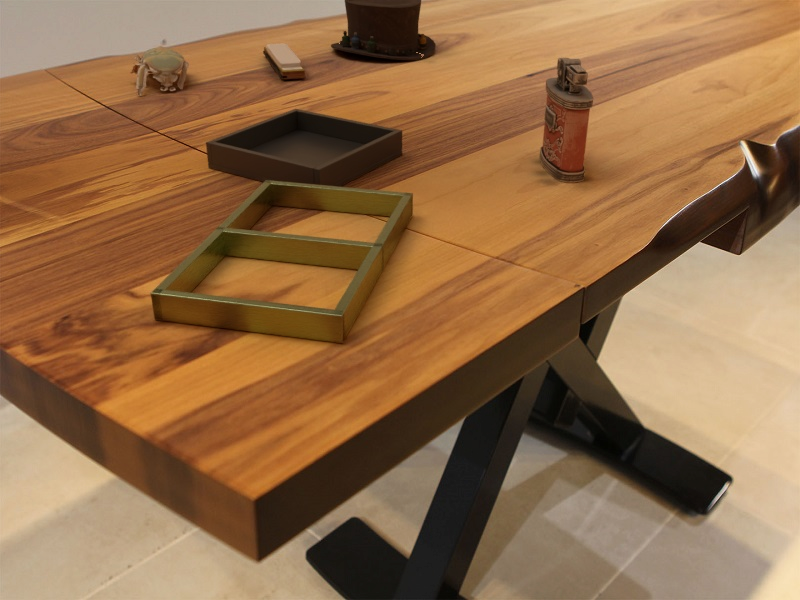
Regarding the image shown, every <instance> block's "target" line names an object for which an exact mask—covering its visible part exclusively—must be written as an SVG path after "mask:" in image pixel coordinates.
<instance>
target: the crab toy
mask: <svg viewBox="0 0 800 600" xmlns="http://www.w3.org/2000/svg"><path fill="white" fill-rule="evenodd" d="M133 61H137V63H135V64H134V65H133V66H132V69H131V71H130V72H129V73H130V74H131V75H133V74H135V75H136V82H135V84H136V86H135V90H136V91H137V92H136V96H140V97H143V92H144V91H145V90H146V87H147V75H148V74H155V75H153V76H152V78H153V79H155V80H156V81H157V82H159V84H160V86H161V87H160V88H159V89H160V91H162V92H165V91H170V92H174V91H176V87H174V86H173V83H175V82H176V81H177V85H176V86H177V87H178V88H179V89H180V90H183V89H184V83H185V80H186V77H187V72H188V69H189V66H190V65H191V64H190V63H189V62H187V59H186V58H185V57H184V56H183V55H182V54H180V53H179V52H178V51H175V50H173V49H170V48H168V47H164V46H162V45H158V46H156V47H153V48H149V49H147V50H145V51H144V53H143V54H142V56H141V57H140V56H139V55H135V57H134V58H133ZM179 72H180V74H179V76H178V73H179ZM178 77H179V78H178Z"/></svg>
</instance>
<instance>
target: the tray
mask: <svg viewBox="0 0 800 600" xmlns="http://www.w3.org/2000/svg"><path fill="white" fill-rule="evenodd" d="M205 147H206V157H207V167H208V169H212V170H216V171H219V172H223V173H227V174H231V175H235V176H238V177H243V178H246V179H250V180H254V181H258V182H262V183H263V182H264V181H265V180H271V181H281V182H292V183H304V184H315V185H326V186H337V187H343V186H344V185H346V184H348V183H350V182H352V181H354V180H356V179H358V178H360V177H362V176H363V175H366V174H368V173H370V172H371V171H373V170H376V169H378V168H380V167H381V166H383V165H386V164H387V163H389V162H391V161H393V160H395V159H397V158H399V157H401V156H402V155H403V130H402V129H397V128H393V127H387V126H383V125H378V124H372V123H367V122H363V121H358V120H353V119H348V118H343V117H339V116H333V115H328V114H323V113H319V112H315V111H310V110H303V109H300V108H293V109H290V110H288V111H286V112H283V113H281V114H278V115H275V116H273V117H270V118H267V119H265V120H262V121H259V122H256V123H254V124H251V125H248V126H245V127H243V128H241V129H238V130H235V131H232V132H230V133H227V134H225V135H222V136H219V137H216V138H214V139H211V140H208V141H206V142H205Z"/></svg>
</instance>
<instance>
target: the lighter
mask: <svg viewBox="0 0 800 600" xmlns="http://www.w3.org/2000/svg"><path fill="white" fill-rule="evenodd" d="M556 64H557V65H556V70H557V72H556V75H557V76H556V77H549V78H547V79H546V80H545V91H546V103H545V109H544V125H543V136H542V146H540V149H539V161H540V163H541V166H542V168H543V169H544V170H545V171H546V172H547V173H548V174H549V175H550V176H551V177H553V178H554V179H555V180H557V181H558V182H563V183H580V182H583V181H584V180H585V175H586V167H585V165H584V163H585V155H586V146H587V138H588V137H587V136H588V127H589V119H590V109H592V108H593V105H594V96H593V94H592V92H591V91H590V90H589V89H588V88H587V87H586V86H588V78H589V77H588V76H589V72H588V71H587V69H585V68H584V67H583V66H582V61H581V59H580V58H570V57H558V58H557V63H556Z"/></svg>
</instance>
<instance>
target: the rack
mask: <svg viewBox="0 0 800 600" xmlns="http://www.w3.org/2000/svg"><path fill="white" fill-rule="evenodd" d="M273 206H276V207H285V208H298V209H306V210H319V211H328V212H339V213H349V214H360V215H370V216H380V217H388V220H387V221H386V222H385V224H384V226H383V228H382V229H381V231H380V233H379V234H378V236H377V238H376V239H375V241H374V242H371V241H361V240H352V239H340V238H331V237H321V236H311V235H300V234H293V233H281V232H272V231H262V230H251V229H252V228H253V227H254V225H255V224H256V223H257V222H258V221H259V220H260V219H261V218H262V217H263V216H264V215H265V213H267V212H268V210H270V209H271V207H273ZM413 206H414V194H413V192H403V191H392V190H380V189H370V188H358V187H348V186H347V187H346V186H340V187H337V186H326V185H315V184H304V183H292V182H281V181H271V180H265V181H264V182H262V183H261V184H260V185H259V186H258V187H257V188H256V189H255V190H254V191H253V192H252V193H251V194H250V195H249V196H248V197H247V198H246V199H245V200H244V201H243V202H241V204H240V205H238V207H236V209H235V210H233V212H231V213H230V214H229V215H228V216H227V217H226V218H225V220H223V221H222V222H221V223H220V224H219V225H218V226H217V227H216V228H215V229H214V230H213V231H212V232H211V233H210V234H209V235H208V236H207V237H206V238H205V239H204V240H203V241H202V242H201V243H200V244H199V245H198V246H197V247H195V249H193V251H192V252H191V253H190V254H189V255H187V257H186V258H185V259H183V260H182V261H181V262H180V264H178V266H176V267H175V268H174V269H173V271H171V273H169V274H168V275H167V276H166V277H165V278H164V279H163V280H162V281H161V282H160V283H159V284H158V285H157V286H156V287H155V288H154V289H153V290H152V291H151V292H150V299H151V305H152V311H153V313H152V314H153V318H154V321H159V322H160V321H162V322H169V323H171V322H172V323H179V324H187V325H195V326H201V327H211V328H218V329H227V330H233V331H242V332H249V333H250V332H251V333H258V334H267V335H272V336H273V335H274V336H282V337H289V338H297V339H305V340H314V341H322V342H331V343H335V344H344V342H345V340H346V338H347V336H348V335H349V333H350V331H351V329H352V327H353V326H354V324H355V322H356V321H357V318H358V316H359V315H360V313H361V312H362V309H363V307H364V305H365V303H366V302H367V300H368V298H369V296H370V294H371V292H372V290H373V289H374V287H375V285H376V283H377V281H378V279H379V278H380V276H381V274H382V272H383V270H384V268H385V267H386V264H387V263H388V261H389V259H390V257H391V255H392V254H393V252H394V251H395V248H396V247H397V245H398V242H399V241H400V239H401V238H402V235H403V234H404V232H405V230H406V228H407V226H408V224H409V223H410V221H411V219H412V217H413V212H414V211H413V210H414V209H413V208H414V207H413ZM225 256H226V257H228V256H229V257H237V258H244V259H245V258H247V259H253V260H254V259H255V260H265V261H274V262H284V263H291V264H292V263H293V264H301V265H311V266H318V267H319V266H320V267H329V268H336V269H337V268H338V269H339V268H340V269H347V270H348V269H349V270H355V271H356V270H357V271H356V273H355V275H354V276H353V278H352V279H351V281H350V283H349V285H348V286H347V288H346V290H345V292H344V293H343V295H342V296H341V298H340V300H339V301H338V303H337V305H336V306H335V308H334V309H332V308H325V307H315V306H308V305H307V306H306V305H298V304H289V303H283V302H274V301H273V302H272V301H264V300H256V299H249V298H238V297H230V296H223V295H222V296H221V295H215V294H214V295H213V294H207V293H197V292H193V291H194V289H195V288H196V287H198V286H199V284H200V283H201V282H202V281H203V280H205V278H206V277H207V276H208V274H210V273H211V272H212V270H213V269H214V268H215V267H216V266H217V265H218V264H219V263H220V262H221V261H222V260H223V259H224V258H225Z"/></svg>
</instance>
